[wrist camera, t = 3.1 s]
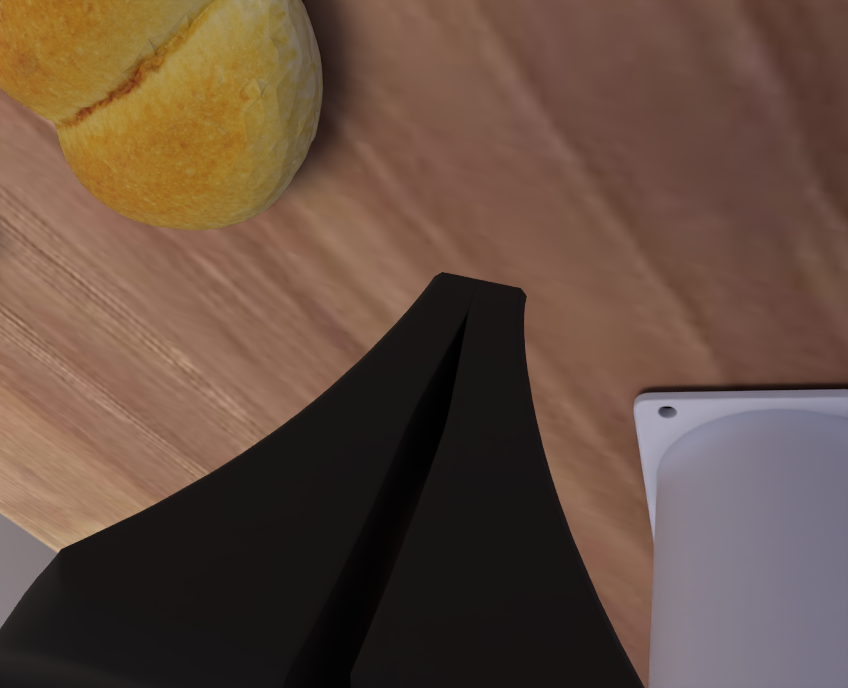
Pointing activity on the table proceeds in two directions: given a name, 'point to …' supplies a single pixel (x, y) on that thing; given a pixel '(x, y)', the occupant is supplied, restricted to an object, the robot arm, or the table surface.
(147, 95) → the bread roll
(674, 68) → the table surface
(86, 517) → the table surface
